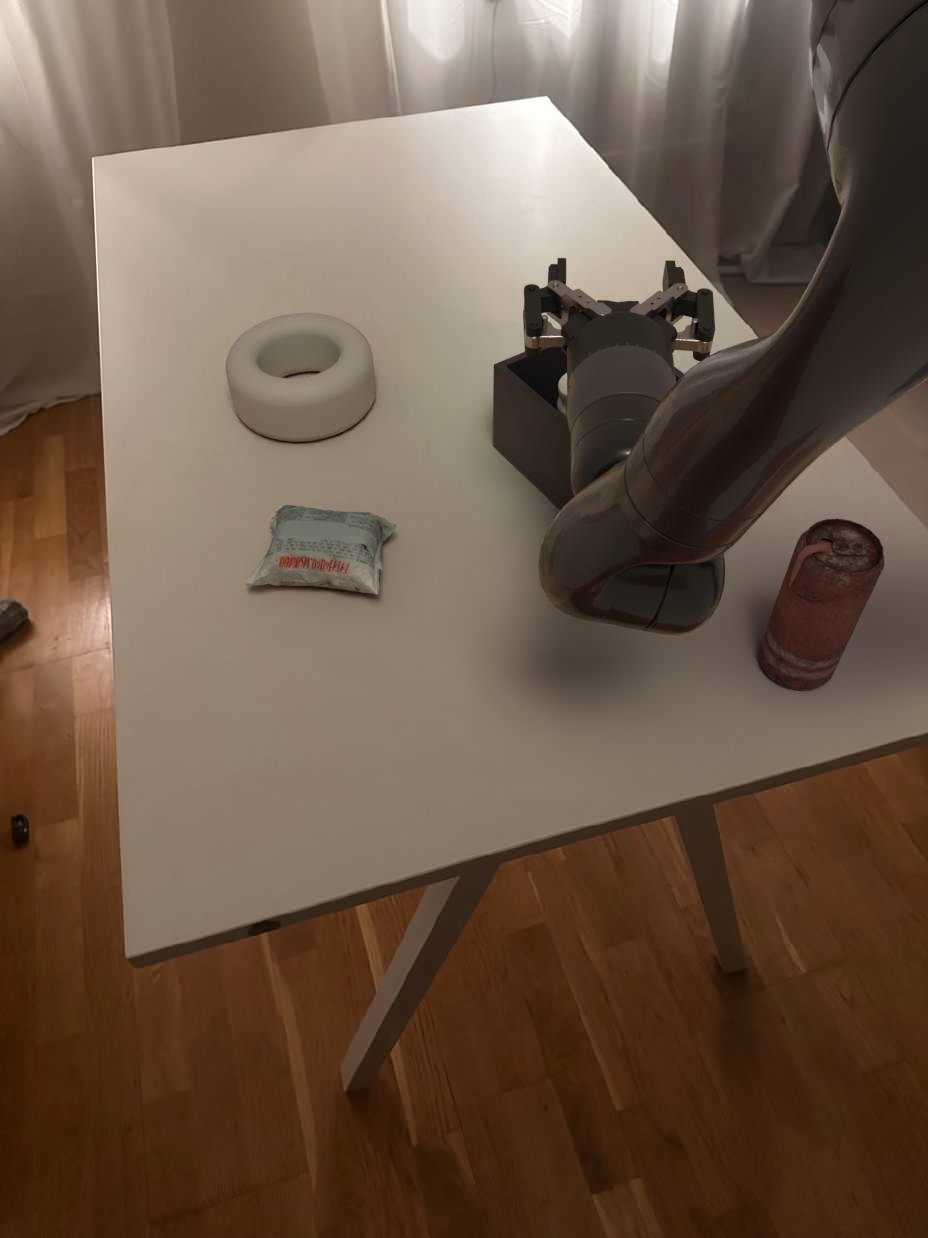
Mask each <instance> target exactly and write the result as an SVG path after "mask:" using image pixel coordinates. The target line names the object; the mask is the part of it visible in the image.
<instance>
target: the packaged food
mask: <svg viewBox="0 0 928 1238" xmlns="http://www.w3.org/2000/svg"><path fill="white" fill-rule="evenodd" d="M269 525H270V527H269V528H270V530H272V533H273V535H272V538H271V541H270V542H269V546H268V550H267V552H266V553H265V555H263V558H262V559H261V560H260V562H259V563H258V564H257V566H256V567H255V568H254V570H253V571H252V572H251V573H250V574H249V576H248V577H247V578H246V580H245V586H247V587H253V586H264V585H271V586H277V587H279V586H284V587H285V586H287V587H289V586H294V587H295V586H296V587H299V586H301V587H302V586H303V587H304V586H305V587H306V586H310V587H311V586H313V587H322V588H326V589H337V590H343V591H352V592H357V593H363V594H365V593H367V594H369V595H370V594H371V595H372V594H373V595H379V591H380V583H379V576H380V575H379V570H383V569H384V566H383V563H382V548H383V544H384V541H386V540H387V539H388V537H389V536H391V535H392V534H393V532H394V531H396V530H397V524H395V523H393V522H391V521H390V520H387V519H386V518H384V517H382V516H379V515H377V514H374V513H372V512H370V511H342V510H341V511H340V510H339V511H338V510H337V511H336V510H331V509H327V510H325V509H319V508H314V507H306V506H302V505H301V506H298V505H293V504H284V505H282V506H281V507H280V508H279V509H278V511H275V515H274V516H272V517H271V519H270V520H269Z"/></svg>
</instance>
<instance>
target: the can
mask: <svg viewBox="0 0 928 1238" xmlns="http://www.w3.org/2000/svg"><path fill="white" fill-rule="evenodd" d="M884 568H885V554H884V546H883V544H882V542H881V540H880V538H879V537H878V536H877V535H876V534H875V532H873V531H872V530H871V529H869V528H867V527H866V526H864V525H863V524H861V523H859V522H855V521H854V520H853V521H852V520H850V519H844V518H826V519H823V520H819V521H816V522H815V523H814V524H812V525H810V526H809V527H808V529H806V530H805V531H804V532H803V533H801V535H800V536H799V538H798V540H797V542H796V544H795V546H794V549H793V553H792V555H791V558H790V561H789V563H788V566H787V568H786V572H785V575H784V577H783V580H782V583H781V585H780V588H779V591H778V594H777V597H776V600H775V602H774V604H773V608H772V611H771V613H770V616H769V618H768V621H767V624H766V626H765V630H764V633H763V635H762V638H761V641H760V643H759V646H758V655H757V656H758V660H759V663H760V666H761V668H762V669H763V671H764V672H765V673H766V675H767V676H768V677H769V678H770V679H771V680H773V681H774V682H775V683H776V684H778V685H780V686H782V687H784V688H786V689H789V690H790V689H791V690H795V691H808V690H809V691H810V690H814V689H817V688H819V687H822V686H824V685H826V684H827V683H828V682H829V681H830V680H831V679H832V678H833V676H834V674H835V671H836V669H837V667H838V665H839V663H840V661H841V658H842V657H843V654H844V652H845V650H846V648H847V646H848V644H849V642H850V640H851V637H852V635H853V633H854V632H855V629H856V627H857V625H858V623H859V621H860V619H861V616H862V615H863V612H864V610H865V608H866V606H867V605H868V602H869V600H870V597H871V595H872V594H873V591H874V589H875V587H876V585H877V583H878V580H879V578H880V576H881V574H882V572H883V570H884Z"/></svg>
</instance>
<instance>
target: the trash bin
mask: <svg viewBox="0 0 928 1238" xmlns="http://www.w3.org/2000/svg"><path fill="white" fill-rule="evenodd" d="M674 369H675V378H676V382H677V381H678V380H679V379H680V378H681V377H682V376H683V375H684V374H685V372H682V371H681V370H680V369H679V368H677V367H676V366H674ZM566 373H567V355H566V354H565V353H564V352H563V350H562V349H561V347H541V354H540V355H539V356H536V357H531V356H528V355H526V354H525V351H523V352H520V353H518V354H515V355H514V356H511V357H508V358H506V359H503V360H501V361H499V362H496V363H494V364H493V387H492V389H493V390H492V394H493V395H492V396H493V397H492V403H493V404H492V446H493V448H494V449H496V451H498V452H499V454H501V456H503V457H504V458H505V459H506V460H507V461H508V462H509V463H510V464H511V465H512V466H513V467H514V468H516V470H517V471H519V473H521V474H522V475H523V476H524V478H526V479H527V480H528V481H529V482H530V483H532V485H533V486H534V487H535V488H537V490H539V492H541V493H542V494H543V495H544V496H545V497H546V498H547V499H548V500H549V501H550V502H551V503H552V504H554V506H556V507H557V508H558V509H559V511H560V510H561V509H562V508H563V507H564V506H565V504H566V503H567V502H568V501H569V500H570V499H571V498H573V497H574V493H573V490H572V484H571V435H570V431H569V426H568V421H567V418H566V417H564V416H563V415H562V414H561V413H560V412H559V411H557V401H558V398H559V390H558V383H559V380H560V379H561V377H562V376H563V375H564V374H566Z"/></svg>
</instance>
